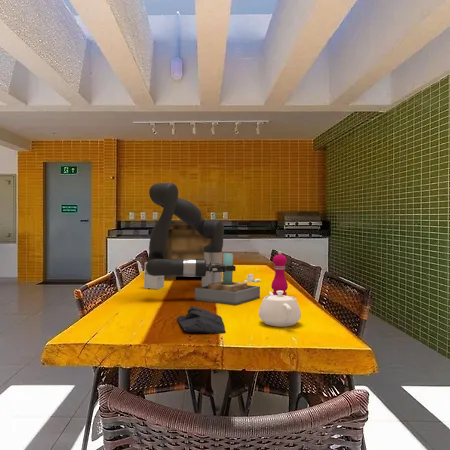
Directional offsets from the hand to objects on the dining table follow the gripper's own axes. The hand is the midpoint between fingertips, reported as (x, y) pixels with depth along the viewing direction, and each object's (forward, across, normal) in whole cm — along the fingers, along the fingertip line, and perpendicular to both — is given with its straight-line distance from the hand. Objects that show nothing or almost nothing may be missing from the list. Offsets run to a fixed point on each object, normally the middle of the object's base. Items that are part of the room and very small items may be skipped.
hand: (234, 267), depth 188 cm
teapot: (+8, -44, +14) cm, 47 cm away
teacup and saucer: (+17, +49, +14) cm, 54 cm away
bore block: (-3, 0, +13) cm, 13 cm away
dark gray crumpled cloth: (-17, -45, +14) cm, 51 cm away
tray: (-3, 0, +13) cm, 13 cm away
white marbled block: (-34, +32, +14) cm, 49 cm away
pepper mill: (+21, +5, +13) cm, 25 cm away
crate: (-15, +72, +13) cm, 75 cm away
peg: (-3, 0, +8) cm, 8 cm away
